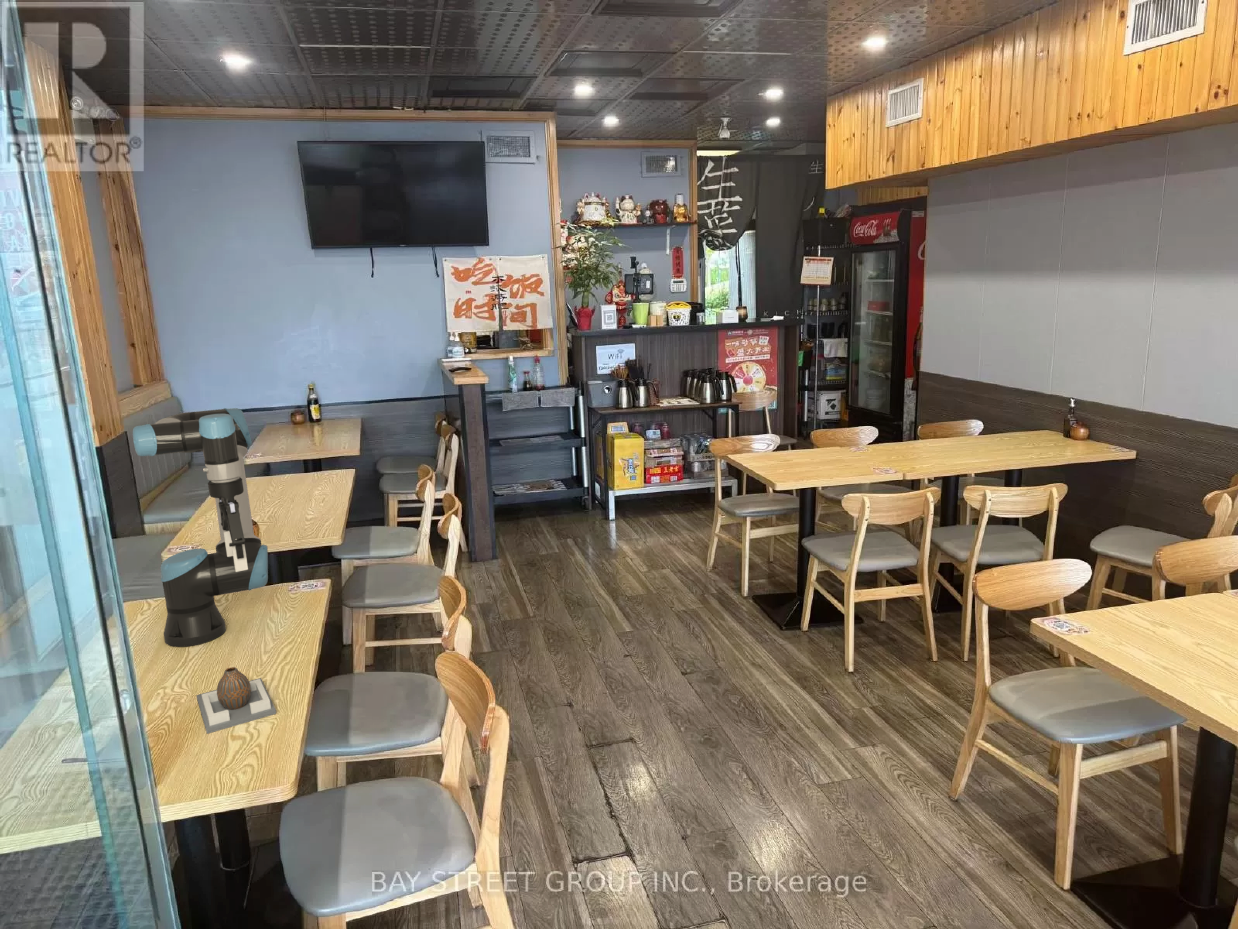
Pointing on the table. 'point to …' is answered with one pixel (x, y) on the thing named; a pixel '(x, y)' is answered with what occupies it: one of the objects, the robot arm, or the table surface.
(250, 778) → the table surface
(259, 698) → the board
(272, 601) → the table surface
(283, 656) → the table surface
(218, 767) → the table surface
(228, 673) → the vase
